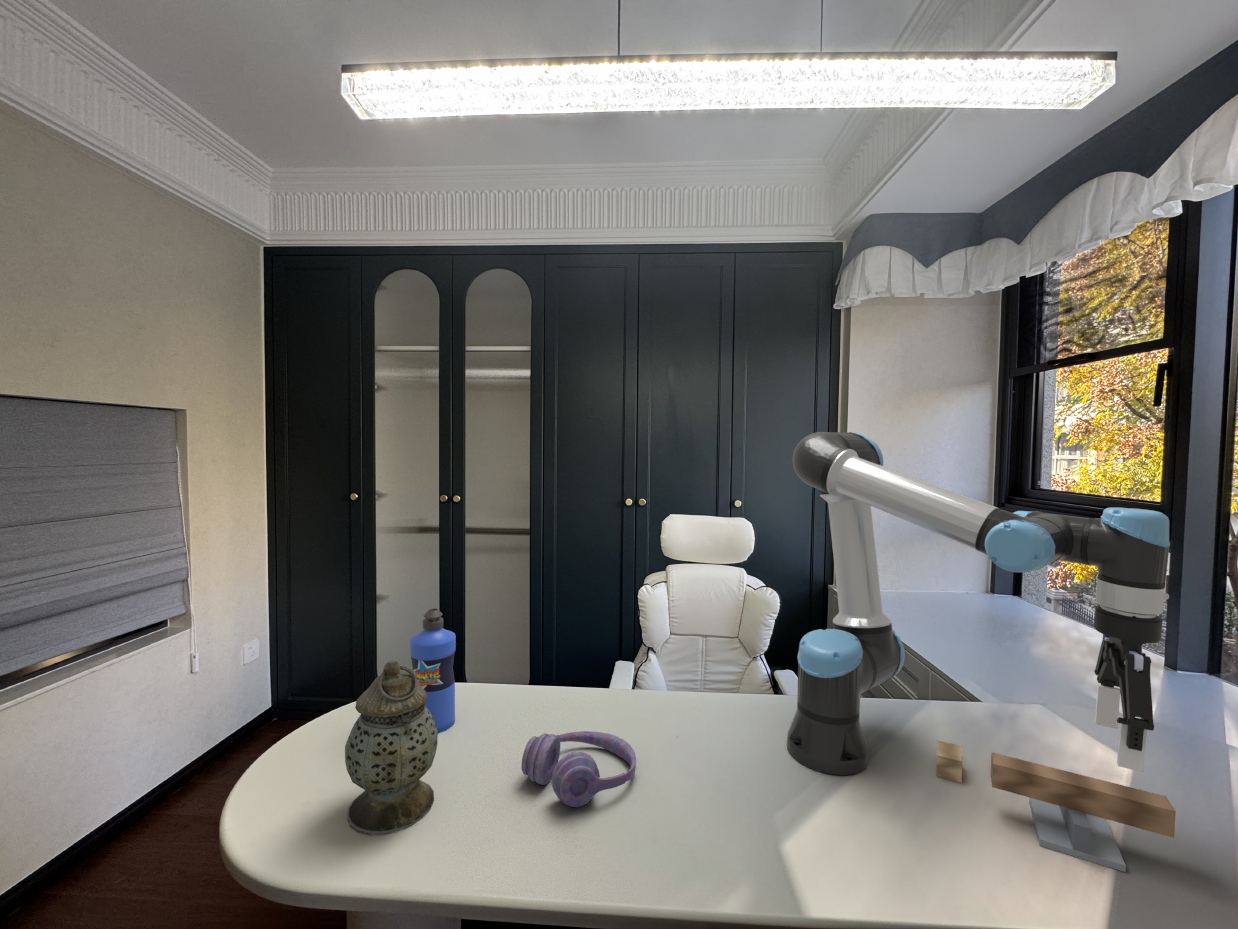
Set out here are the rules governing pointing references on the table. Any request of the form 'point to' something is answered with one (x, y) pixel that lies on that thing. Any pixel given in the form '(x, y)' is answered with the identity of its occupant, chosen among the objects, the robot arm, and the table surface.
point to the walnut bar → (1084, 794)
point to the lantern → (391, 753)
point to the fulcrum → (1076, 834)
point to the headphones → (574, 765)
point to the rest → (949, 761)
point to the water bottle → (435, 668)
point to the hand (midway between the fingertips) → (1117, 745)
